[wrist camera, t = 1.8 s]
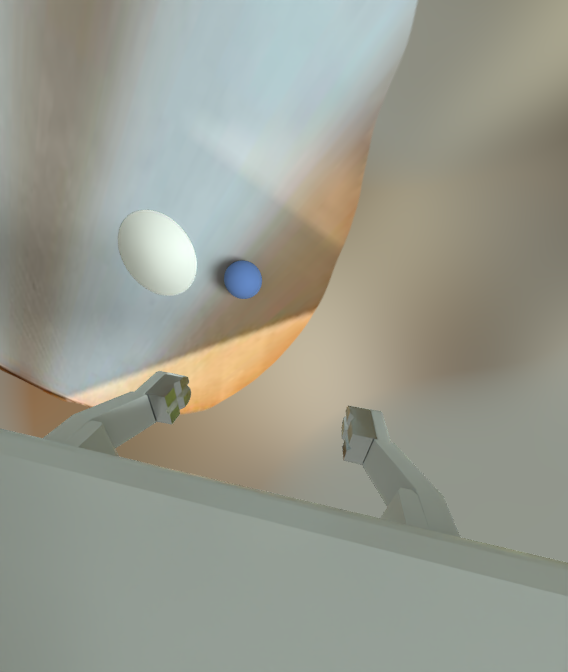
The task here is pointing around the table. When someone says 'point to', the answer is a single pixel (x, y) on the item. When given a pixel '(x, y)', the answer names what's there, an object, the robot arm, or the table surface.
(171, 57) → the table surface
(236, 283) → the ball
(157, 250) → the disc
